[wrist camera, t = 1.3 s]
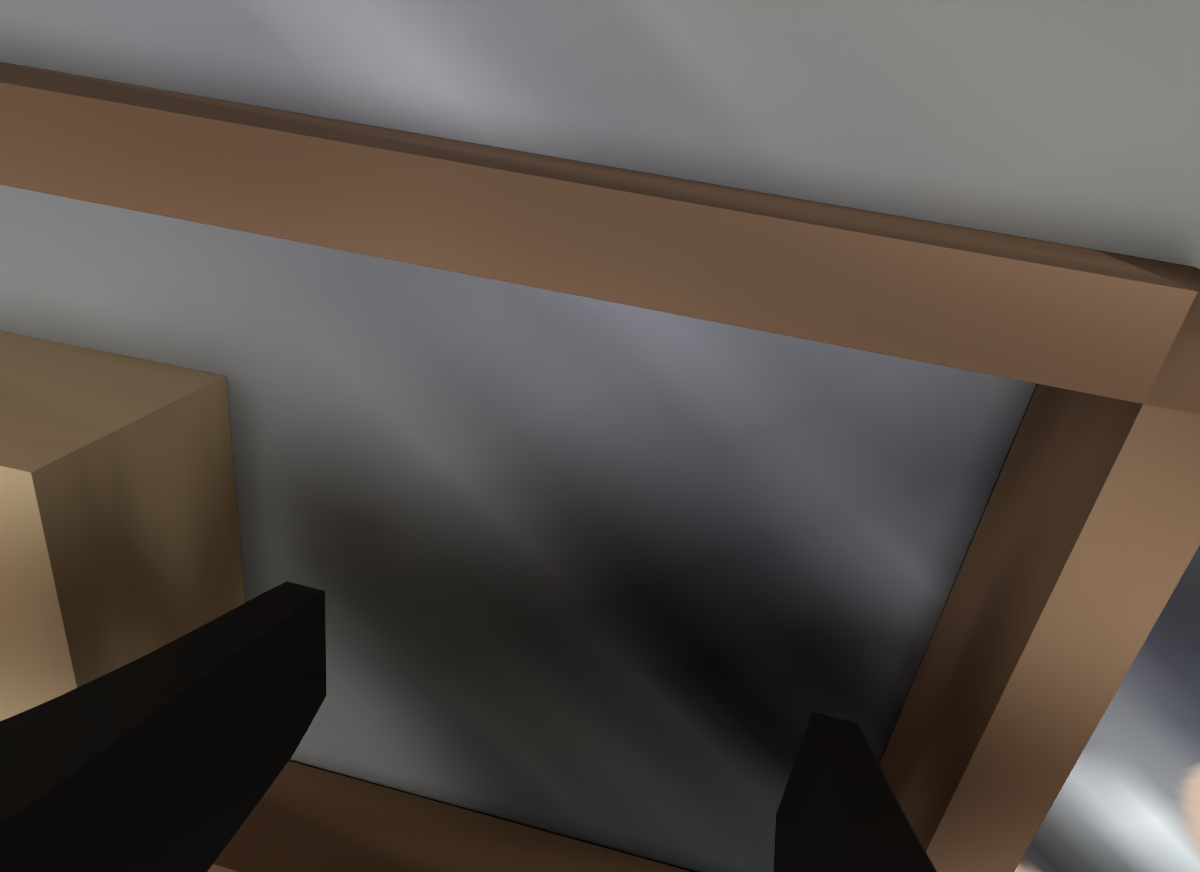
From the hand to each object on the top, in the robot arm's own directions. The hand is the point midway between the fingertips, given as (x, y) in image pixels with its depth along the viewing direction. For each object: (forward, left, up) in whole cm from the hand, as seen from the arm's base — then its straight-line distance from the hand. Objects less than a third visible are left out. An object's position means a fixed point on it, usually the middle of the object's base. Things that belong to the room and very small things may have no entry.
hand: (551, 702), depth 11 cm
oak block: (0, +10, -3) cm, 10 cm away
